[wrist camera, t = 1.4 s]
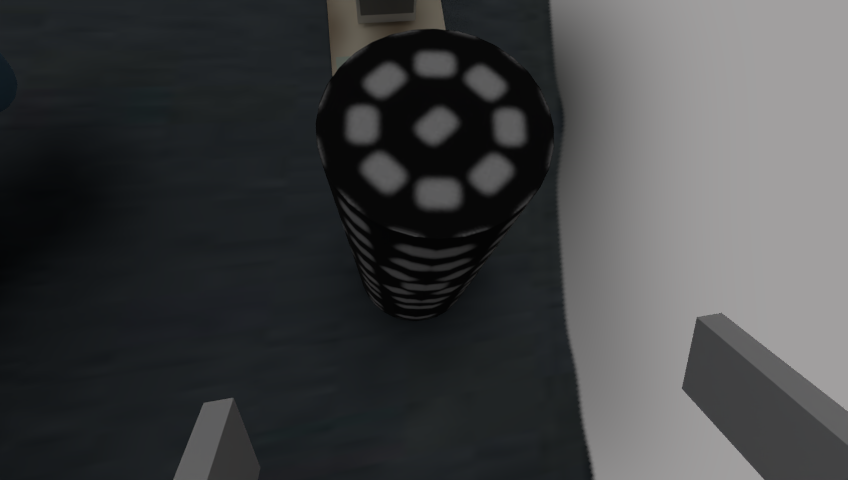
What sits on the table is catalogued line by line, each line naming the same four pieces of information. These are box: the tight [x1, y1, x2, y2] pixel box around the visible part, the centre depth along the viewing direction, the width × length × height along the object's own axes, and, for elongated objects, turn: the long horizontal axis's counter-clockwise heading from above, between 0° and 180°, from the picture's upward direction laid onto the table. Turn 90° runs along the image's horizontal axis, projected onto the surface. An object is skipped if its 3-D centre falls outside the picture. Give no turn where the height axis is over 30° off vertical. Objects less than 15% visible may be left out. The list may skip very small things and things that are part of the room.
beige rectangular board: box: [327, 0, 445, 76], centre depth 39 cm, size 10×18×2 cm, turn 7°
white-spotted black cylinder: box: [316, 29, 554, 321], centre depth 25 cm, size 8×8×20 cm
